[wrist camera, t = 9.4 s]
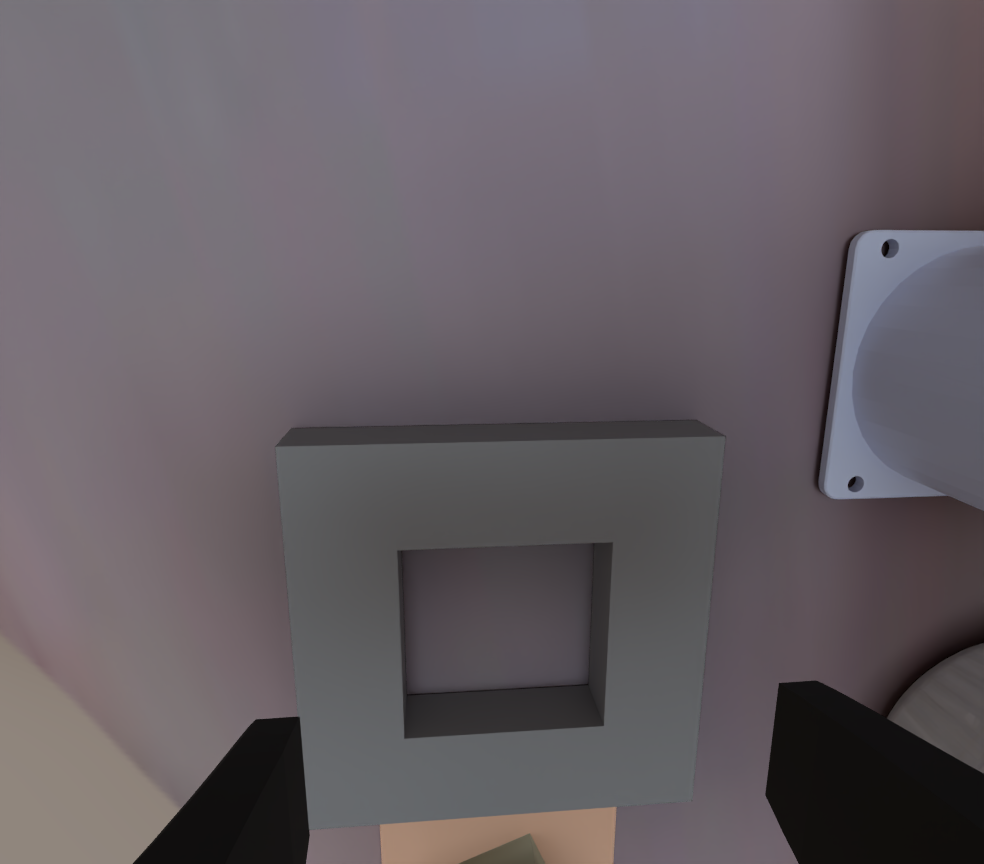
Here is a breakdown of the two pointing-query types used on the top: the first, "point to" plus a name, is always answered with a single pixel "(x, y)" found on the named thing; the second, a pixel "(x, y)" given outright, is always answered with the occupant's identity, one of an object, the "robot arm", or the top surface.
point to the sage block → (511, 853)
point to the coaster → (504, 837)
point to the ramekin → (948, 706)
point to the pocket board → (495, 523)
